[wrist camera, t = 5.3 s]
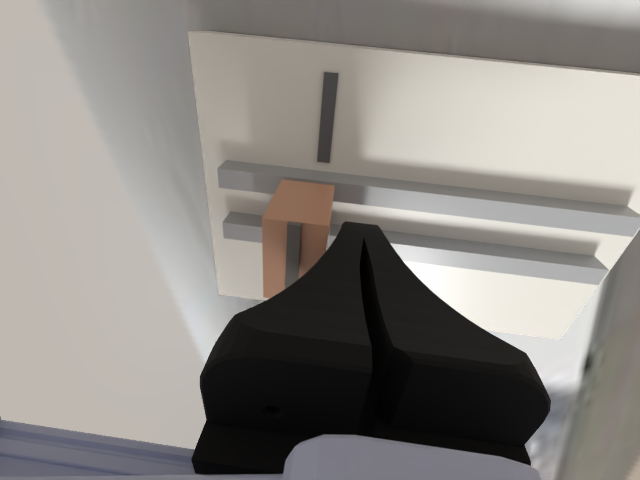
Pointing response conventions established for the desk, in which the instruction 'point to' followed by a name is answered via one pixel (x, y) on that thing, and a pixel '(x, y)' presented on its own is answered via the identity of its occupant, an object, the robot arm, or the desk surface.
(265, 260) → the fader
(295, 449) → the robot arm
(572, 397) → the desk surface
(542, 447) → the desk surface
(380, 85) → the white slider track board
